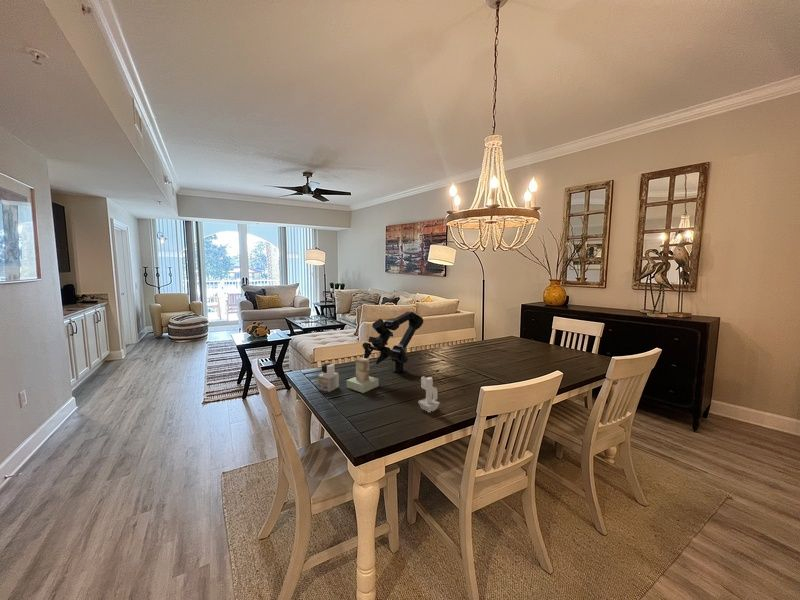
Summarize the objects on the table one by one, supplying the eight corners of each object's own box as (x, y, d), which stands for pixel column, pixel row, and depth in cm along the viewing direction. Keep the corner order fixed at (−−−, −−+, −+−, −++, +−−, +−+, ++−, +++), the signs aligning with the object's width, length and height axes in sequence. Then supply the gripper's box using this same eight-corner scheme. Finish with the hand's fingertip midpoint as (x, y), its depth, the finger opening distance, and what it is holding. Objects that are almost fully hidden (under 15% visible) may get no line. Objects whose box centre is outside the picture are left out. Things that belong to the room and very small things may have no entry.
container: (318, 389, 174) (317, 365, 172) (327, 384, 181) (327, 361, 179) (329, 392, 170) (329, 367, 169) (339, 387, 177) (338, 363, 175)
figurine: (430, 415, 145) (430, 382, 143) (415, 408, 153) (416, 376, 151) (441, 411, 150) (442, 379, 148) (427, 404, 157) (428, 373, 155)
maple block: (362, 377, 181) (362, 357, 179) (369, 379, 177) (369, 359, 176) (355, 379, 177) (355, 359, 175) (362, 381, 174) (362, 361, 172)
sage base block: (362, 380, 186) (362, 374, 185) (378, 386, 179) (378, 378, 178) (346, 387, 176) (346, 380, 176) (363, 393, 169) (363, 385, 169)
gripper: (364, 328, 188) (350, 351, 181) (389, 333, 177) (375, 358, 170) (373, 339, 196) (360, 362, 188) (398, 344, 184) (385, 368, 177)
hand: (370, 362), depth 181 cm, fingers open, 9 cm apart
